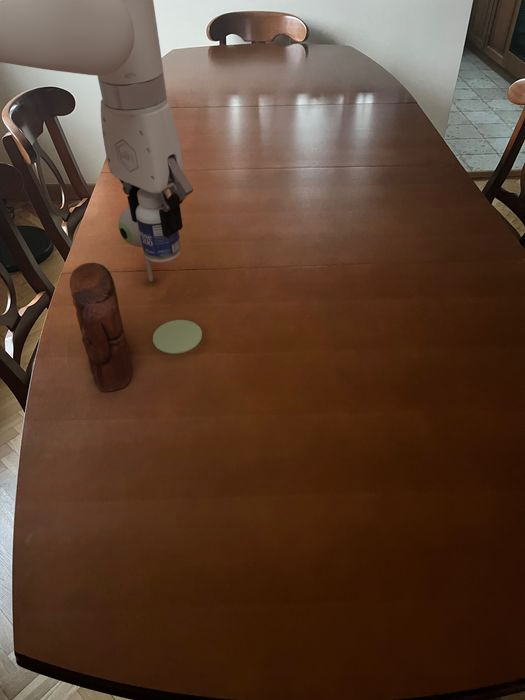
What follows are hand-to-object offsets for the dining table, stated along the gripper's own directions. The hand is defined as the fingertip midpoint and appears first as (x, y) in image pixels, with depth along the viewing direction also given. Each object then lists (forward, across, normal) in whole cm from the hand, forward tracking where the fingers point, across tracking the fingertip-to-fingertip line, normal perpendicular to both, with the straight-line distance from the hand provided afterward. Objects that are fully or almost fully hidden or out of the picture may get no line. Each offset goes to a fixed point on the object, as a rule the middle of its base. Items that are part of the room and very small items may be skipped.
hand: (157, 223), depth 81 cm
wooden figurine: (+21, -3, -11) cm, 24 cm away
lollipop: (+21, -15, +8) cm, 27 cm away
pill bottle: (+5, 0, 0) cm, 5 cm away
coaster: (+21, 0, 0) cm, 21 cm away
